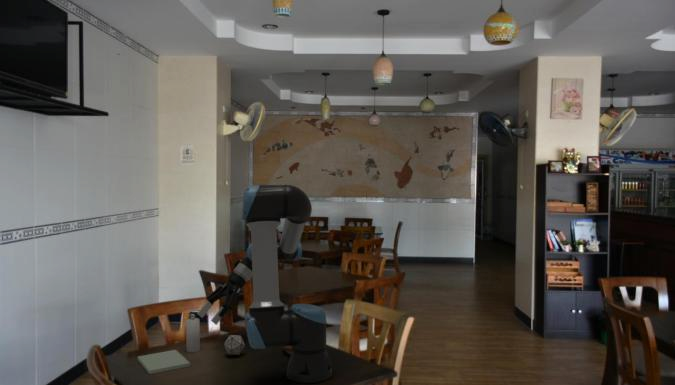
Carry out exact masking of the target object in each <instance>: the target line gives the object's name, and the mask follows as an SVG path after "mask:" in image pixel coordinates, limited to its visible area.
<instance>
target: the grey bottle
mask: <svg viewBox="0 0 675 385" xmlns="http://www.w3.org/2000/svg"><path fill="white" fill-rule="evenodd" d="M200 322H201V321H200V318H199V317H196V314H194V313H191V314H190V318H188V319H185V328H186V329H185V330H186V334H185V336H186V337H185V338H186V341H185V342H186V352H187V353H197V352H200V351H201V342H200V340H201V339H200V338H201V337H200V336H201V332H200V331H201V330H200V329H201V327H200V325H201V324H200Z"/></svg>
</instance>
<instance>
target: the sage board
mask: <svg viewBox="0 0 675 385" xmlns="http://www.w3.org/2000/svg"><path fill="white" fill-rule="evenodd" d="M137 361H138V363H139V364H140V365H141V366H142V367H143V368H144V370H145V371H146V372H147V374H148V375H152V374H158V373H162V372H167V371H173V370H177V369H183V368H187V367H188V368H189V367H190V366H191V362H190V361H189V360H188V359H187V358H185V356H183V355H182V354H181V353H180V352H179V351H178V350H176V349H172V350H167V351H166V350H165V351H163V352H162V351H161V352H156V353H155V352H154V353H149V354H145V355H138V356H137Z"/></svg>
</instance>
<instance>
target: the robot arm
mask: <svg viewBox="0 0 675 385" xmlns="http://www.w3.org/2000/svg"><path fill="white" fill-rule="evenodd" d="M312 208H313V206H312V203H311V200H310V198H309V196H308V195H307V193H305V191H304V190H302V189H301V188H300V187H297V186H296V185H291V184H257V185H255V184H254V185H249V186H246V188H245V189H244V193H243V199H242V207H241V209H242V210H241V219H242V220H243V221H246V222H245V223H246V224H245V225H246V226H247V227H248V228H249V229H250V234H251V236H250V239H251V240H250V241H251V243H250V244H249V245H248V247H247V249H246V254H245V255H244V256H243V258H242V259H241V261H239V263H238V264H237V265H236V267H235V268H234V269H233V271H231V273H230V274H228V277H227V278H226V279H227V283H226V282H225V281H223V282H222V283H221V284H220V285H219V286H218V287H217V288H216V289H215V290H214V291H212V292H211V293H209V295H208V296H206V301H205V303H204V304H203V306H202V307H201V308H200V309H199V311H198V312H197V315H198V316H199V317H200V318H202V319H203V318H204V316H206V314H207V313H208V311H209V310H210V309H211V307H213V306H214V303H215V302H217V301H218V300H220V299H222V298H223V297H225V299H224V303H223V305H221V307H220V308H219V309H218V311H217V312H216V313H215V314H214V316H213V317H212V318H211V320H210V321H211V322H212V323H213V324H214V325H218V323H220V321H221V319H222V318H223V317H224V316H225V314H226V313H227V312H229V311H233V309H234V307H235V305H236V302H237V301H238V298H239V297H240V294H241V293H242V290H243V289H244V287H245V286H246V284H247V282H248V281H249V280H250V279H252V293H253V295H252V298H253V299H252V303H251V304H250V305H249V306H248V311H247V312H246V313H244V322H245V330H246V335H247V339H248V340H247V341H248V344H249V346H250V347H251V348H252V349H255V350H256V349H258V350H260V349H263V350H266V349H271V348H272V349H273V348H283V347H285V346H292V354H291V355H290V358H289V361H288V365H287V367H286V377H287V379H288V380H290V381H292V382H295V383H302V384H313V383H319V382H320V383H321V382H324V381H326V380H328V379H330V378H332V376H333V366H332V364H331V361H330V358H329V355H328V352H327V323H328V322H327V317H326V316H327V313H326V311H325V309H324V308H323V307H321V306H319V305H314V304H309V303H294V304H292V305H291V306H290V309H286V310H285V304H284V303H283V302H282V301H281V299H280V286H279V285H280V284H279V282H280V281H279V262H288V261H290V262H293V261H298V260H301V258H302V256H303V247H302V243H301V239H302V235H303V232H304V228H305V225H306V222H308V221H309V220H310V218H311V216H312V210H313V209H312ZM281 219H284V223H283V228H282V231H281V232H282V233H281V236H280V241H279V242H278V238H277V236H278V234H277V233H278V232H277V229H278V227H279V226H280V225H281Z"/></svg>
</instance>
